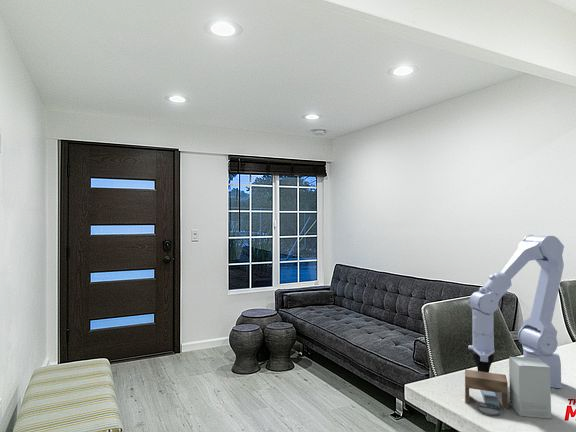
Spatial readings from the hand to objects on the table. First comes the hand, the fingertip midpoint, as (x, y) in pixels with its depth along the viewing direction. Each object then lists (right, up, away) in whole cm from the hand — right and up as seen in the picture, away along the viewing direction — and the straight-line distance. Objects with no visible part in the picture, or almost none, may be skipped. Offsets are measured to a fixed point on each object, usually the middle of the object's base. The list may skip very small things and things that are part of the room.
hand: (483, 378), depth 120 cm
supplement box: (+3, -1, -17) cm, 18 cm away
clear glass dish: (-7, -1, -18) cm, 19 cm away
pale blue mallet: (-3, -1, -8) cm, 9 cm away
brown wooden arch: (-5, -1, -12) cm, 13 cm away
